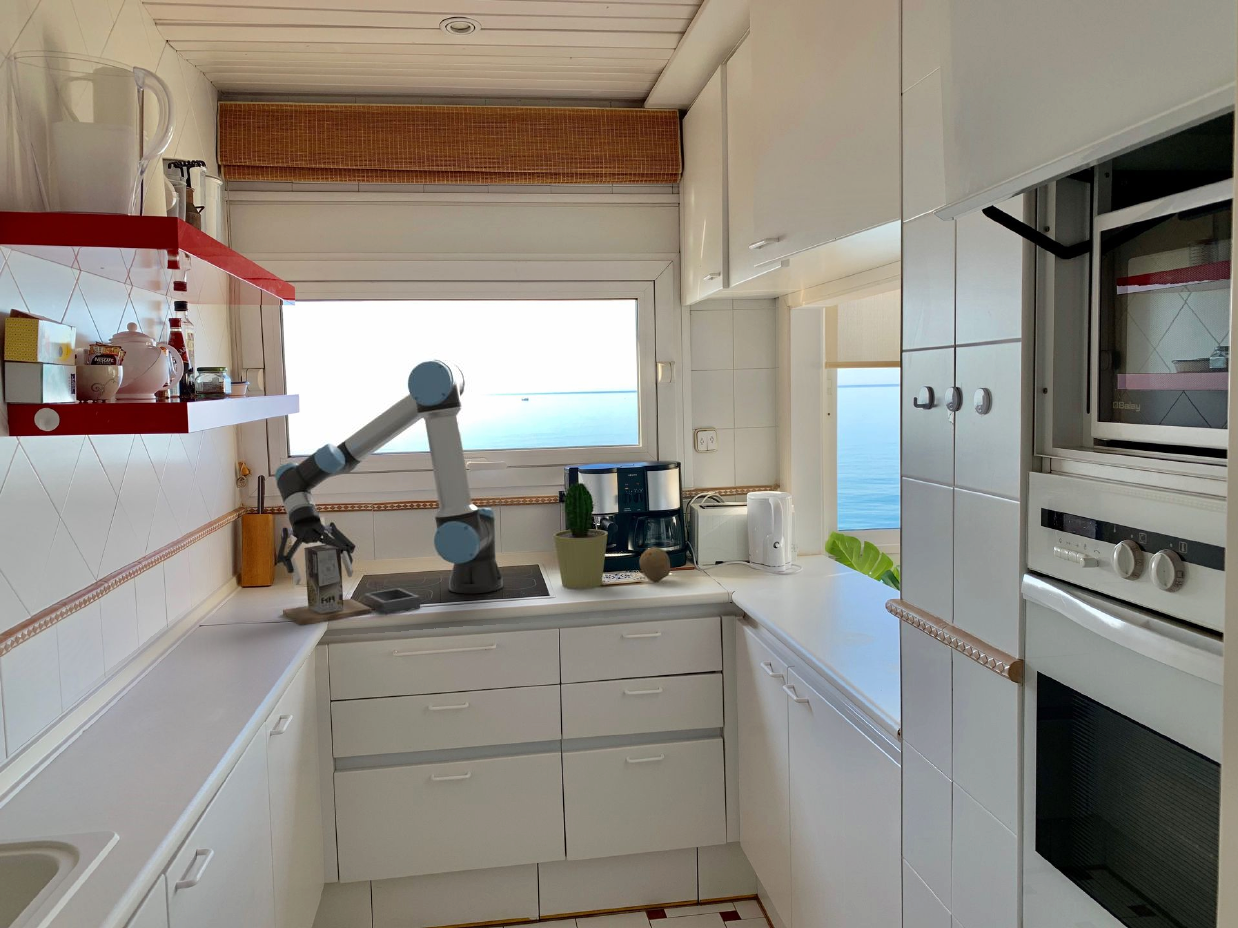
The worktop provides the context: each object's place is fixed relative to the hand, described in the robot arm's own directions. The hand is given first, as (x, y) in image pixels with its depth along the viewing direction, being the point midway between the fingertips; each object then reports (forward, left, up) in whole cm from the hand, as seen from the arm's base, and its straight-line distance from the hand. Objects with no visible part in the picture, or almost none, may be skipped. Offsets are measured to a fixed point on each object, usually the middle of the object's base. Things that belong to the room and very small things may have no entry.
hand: (325, 577), depth 236 cm
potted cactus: (-68, +16, -10) cm, 71 cm away
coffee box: (0, -1, -8) cm, 9 cm away
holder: (-16, +3, -9) cm, 19 cm away
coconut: (-86, +27, -10) cm, 91 cm away
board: (0, -1, -9) cm, 9 cm away
